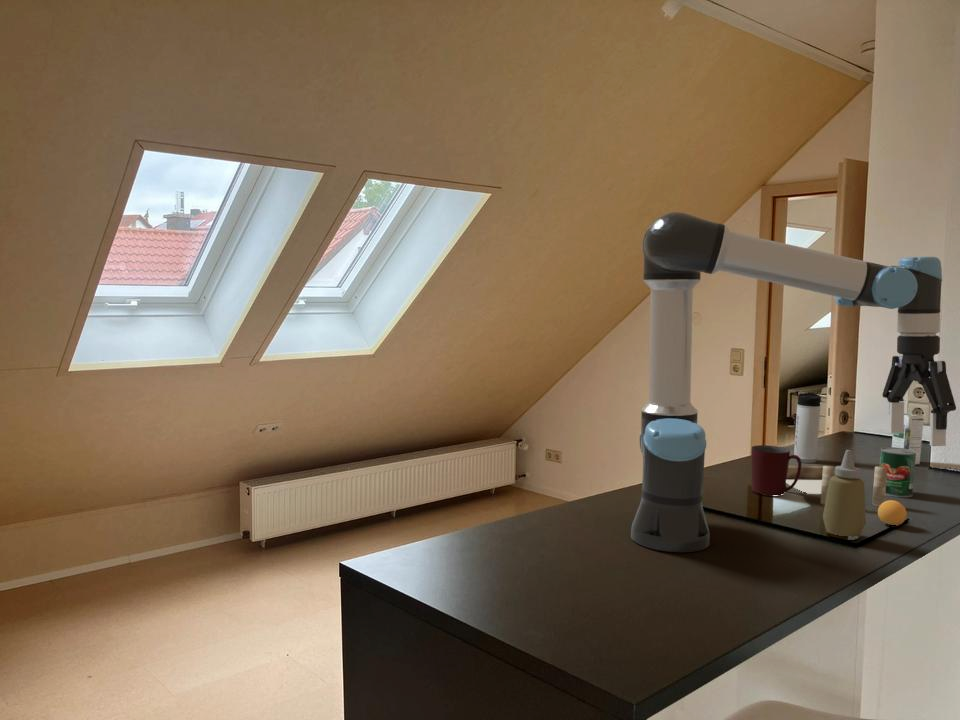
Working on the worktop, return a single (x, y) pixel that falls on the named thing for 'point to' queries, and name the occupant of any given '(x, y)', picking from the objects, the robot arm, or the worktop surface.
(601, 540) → the worktop surface
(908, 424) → the syrup box
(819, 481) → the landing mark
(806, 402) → the travel mug
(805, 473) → the stopper strip
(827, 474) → the post
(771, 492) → the mug
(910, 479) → the canned tomato
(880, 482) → the post
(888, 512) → the ball
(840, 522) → the squeeze bottle
